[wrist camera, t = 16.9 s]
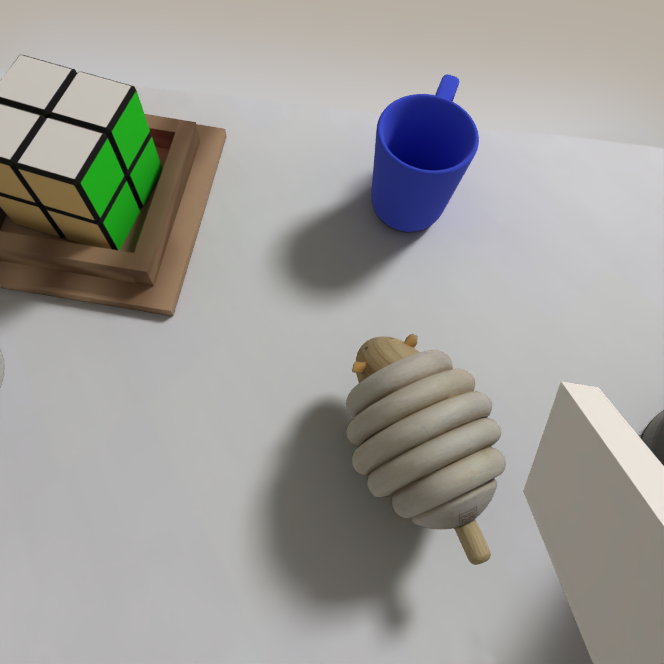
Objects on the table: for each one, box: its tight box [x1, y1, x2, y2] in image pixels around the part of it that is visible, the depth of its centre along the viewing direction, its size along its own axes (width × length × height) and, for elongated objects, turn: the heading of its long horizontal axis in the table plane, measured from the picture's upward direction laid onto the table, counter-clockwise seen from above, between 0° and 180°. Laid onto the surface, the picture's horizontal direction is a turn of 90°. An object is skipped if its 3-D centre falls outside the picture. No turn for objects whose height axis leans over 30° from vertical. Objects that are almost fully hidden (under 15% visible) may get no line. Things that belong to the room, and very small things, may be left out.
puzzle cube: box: [0, 55, 163, 251], centre depth 46 cm, size 10×10×10 cm
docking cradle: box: [0, 114, 226, 316], centre depth 50 cm, size 20×20×4 cm
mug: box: [371, 75, 479, 232], centre depth 50 cm, size 8×12×10 cm
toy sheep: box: [346, 334, 506, 565], centre depth 39 cm, size 11×17×11 cm, turn 28°
